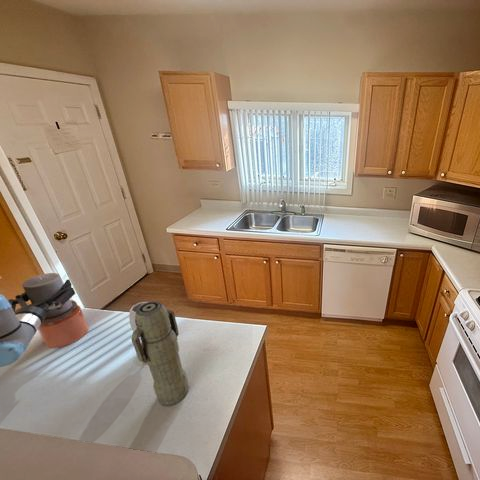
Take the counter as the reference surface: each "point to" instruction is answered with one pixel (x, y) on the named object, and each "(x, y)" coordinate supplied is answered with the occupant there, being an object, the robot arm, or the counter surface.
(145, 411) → the counter surface
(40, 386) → the counter surface
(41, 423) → the counter surface
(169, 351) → the thermos
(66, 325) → the jar
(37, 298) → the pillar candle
